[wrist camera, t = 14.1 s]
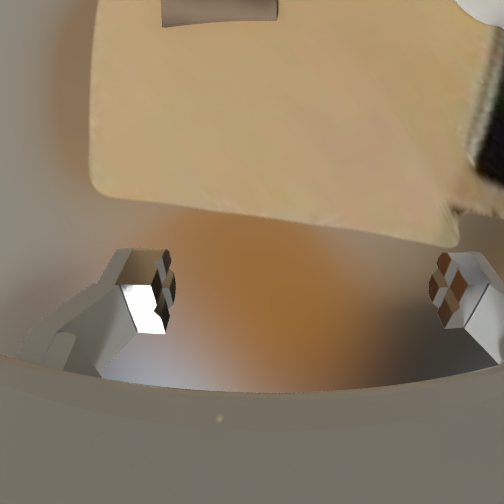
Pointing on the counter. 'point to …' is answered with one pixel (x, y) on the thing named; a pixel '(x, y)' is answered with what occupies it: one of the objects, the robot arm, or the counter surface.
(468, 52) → the counter surface
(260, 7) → the jig
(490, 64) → the counter surface
